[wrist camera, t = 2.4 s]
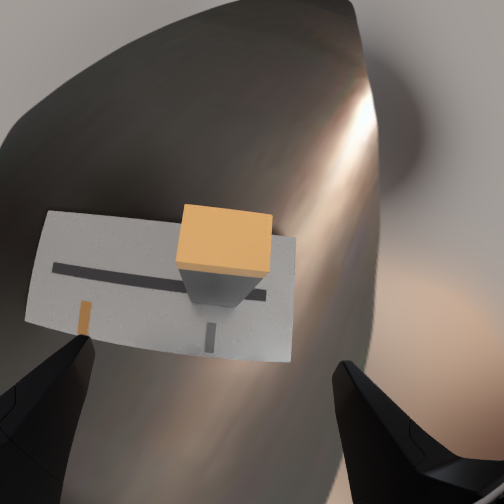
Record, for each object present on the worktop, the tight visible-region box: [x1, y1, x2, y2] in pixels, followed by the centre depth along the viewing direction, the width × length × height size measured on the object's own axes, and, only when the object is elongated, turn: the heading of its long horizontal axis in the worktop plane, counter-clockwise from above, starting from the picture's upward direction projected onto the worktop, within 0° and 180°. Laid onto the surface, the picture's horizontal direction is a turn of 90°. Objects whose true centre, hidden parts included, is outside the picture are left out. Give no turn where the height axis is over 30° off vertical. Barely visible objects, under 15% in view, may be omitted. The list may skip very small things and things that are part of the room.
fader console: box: [25, 211, 296, 362], centre depth 19 cm, size 20×9×2 cm, turn 85°
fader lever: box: [176, 204, 273, 307], centre depth 14 cm, size 3×2×10 cm, turn 85°
